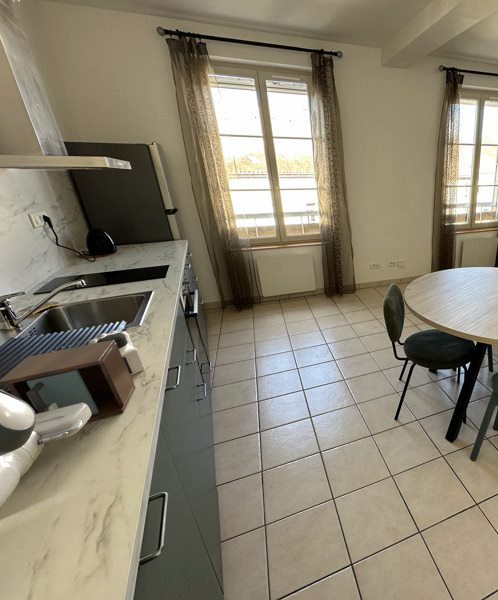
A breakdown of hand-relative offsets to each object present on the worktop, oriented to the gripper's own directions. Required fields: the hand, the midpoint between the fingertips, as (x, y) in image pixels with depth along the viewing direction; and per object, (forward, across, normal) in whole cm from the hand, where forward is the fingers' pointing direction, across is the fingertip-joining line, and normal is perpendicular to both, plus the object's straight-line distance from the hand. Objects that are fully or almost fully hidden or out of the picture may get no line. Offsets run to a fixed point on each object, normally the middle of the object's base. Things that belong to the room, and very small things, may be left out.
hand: (44, 408), depth 76 cm
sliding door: (+1, -3, +6) cm, 7 cm away
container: (+25, -7, +8) cm, 27 cm away
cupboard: (+9, -3, +8) cm, 12 cm away
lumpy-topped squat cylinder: (+37, -1, +8) cm, 38 cm away
